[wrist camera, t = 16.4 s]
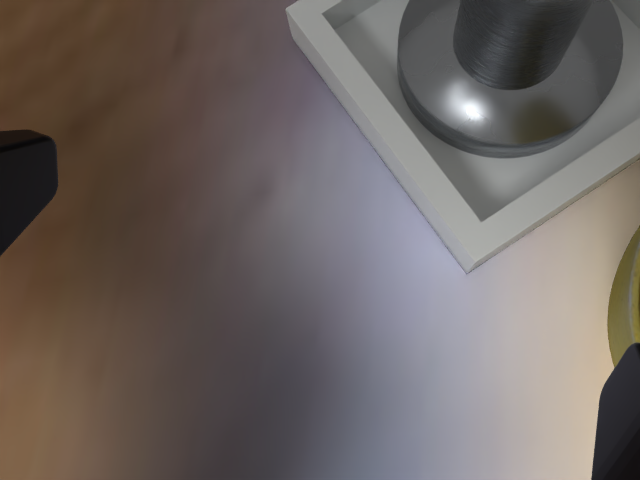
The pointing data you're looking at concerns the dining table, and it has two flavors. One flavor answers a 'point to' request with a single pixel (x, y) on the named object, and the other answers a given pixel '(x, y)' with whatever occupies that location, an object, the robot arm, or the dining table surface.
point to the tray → (449, 162)
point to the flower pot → (625, 302)
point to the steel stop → (507, 70)
